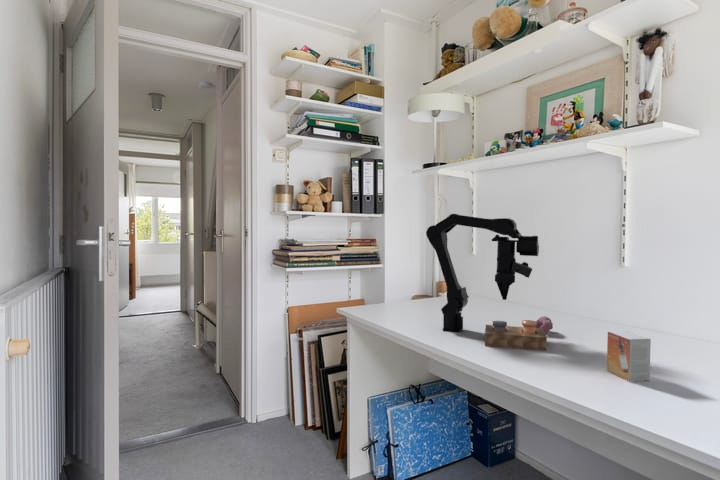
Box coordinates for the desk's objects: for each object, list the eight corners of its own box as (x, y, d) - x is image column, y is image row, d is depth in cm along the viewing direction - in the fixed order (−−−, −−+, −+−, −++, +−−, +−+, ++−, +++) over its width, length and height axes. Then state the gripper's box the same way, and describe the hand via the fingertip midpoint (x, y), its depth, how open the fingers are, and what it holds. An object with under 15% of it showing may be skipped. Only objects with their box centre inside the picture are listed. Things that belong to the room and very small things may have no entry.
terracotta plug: (522, 342, 131) (522, 322, 130) (521, 338, 135) (521, 319, 135) (537, 343, 129) (537, 323, 129) (536, 339, 133) (536, 320, 133)
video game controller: (547, 341, 141) (557, 323, 141) (534, 334, 142) (544, 316, 141) (540, 333, 151) (549, 317, 150) (528, 327, 152) (537, 311, 151)
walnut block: (484, 345, 131) (484, 333, 131) (485, 336, 142) (485, 324, 142) (546, 350, 125) (546, 337, 125) (542, 340, 136) (542, 328, 136)
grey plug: (492, 342, 134) (492, 323, 133) (492, 338, 138) (492, 320, 138) (506, 343, 132) (506, 324, 132) (506, 339, 136) (506, 321, 136)
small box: (606, 370, 107) (606, 330, 107) (626, 370, 108) (626, 330, 107) (628, 382, 99) (629, 339, 99) (650, 381, 100) (651, 338, 99)
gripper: (532, 257, 130) (530, 306, 131) (530, 253, 148) (528, 297, 148) (495, 256, 134) (494, 303, 135) (497, 252, 151) (496, 294, 152)
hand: (504, 299), depth 142 cm, fingers closed
